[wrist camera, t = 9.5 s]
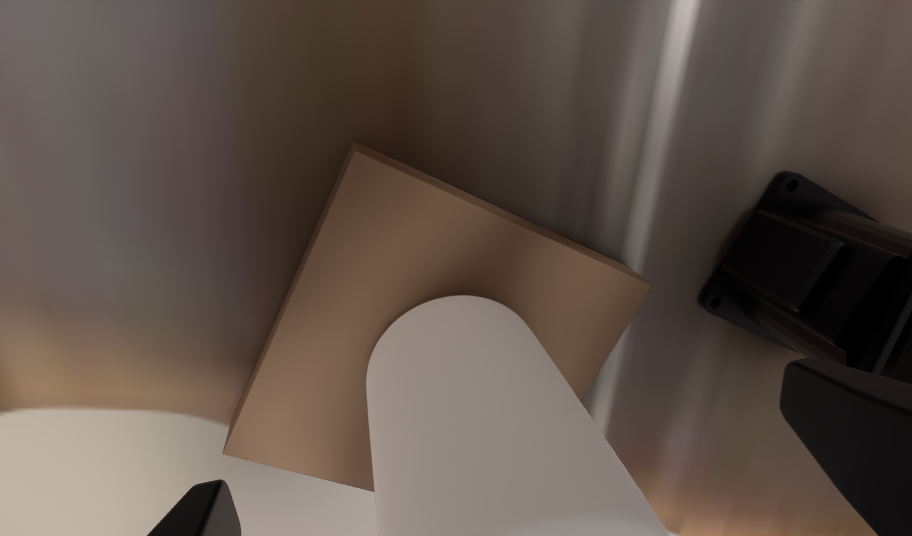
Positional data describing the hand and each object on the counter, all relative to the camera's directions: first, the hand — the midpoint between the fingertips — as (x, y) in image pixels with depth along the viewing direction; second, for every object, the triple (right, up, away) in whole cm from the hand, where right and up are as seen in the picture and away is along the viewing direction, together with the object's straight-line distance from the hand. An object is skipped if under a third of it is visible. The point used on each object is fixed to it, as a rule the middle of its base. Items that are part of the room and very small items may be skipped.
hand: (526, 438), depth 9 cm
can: (-1, -1, +12) cm, 13 cm away
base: (-2, 0, +14) cm, 14 cm away
